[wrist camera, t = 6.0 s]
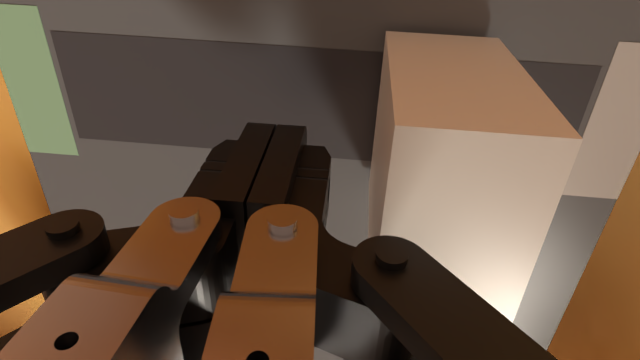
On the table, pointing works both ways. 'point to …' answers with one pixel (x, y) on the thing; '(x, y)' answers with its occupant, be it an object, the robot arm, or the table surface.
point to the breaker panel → (303, 101)
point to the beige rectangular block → (467, 159)
